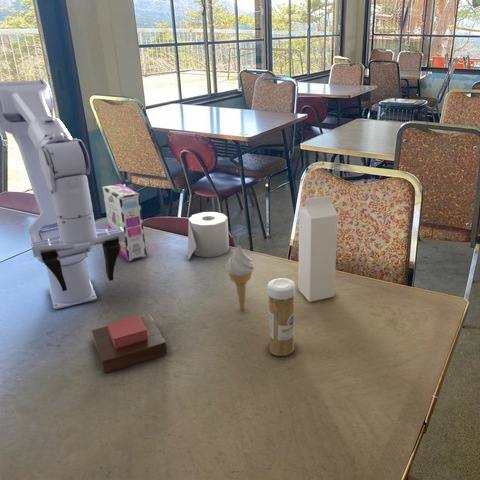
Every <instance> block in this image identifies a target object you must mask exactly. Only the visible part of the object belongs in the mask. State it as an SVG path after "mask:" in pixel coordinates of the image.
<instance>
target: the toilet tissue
mask: <svg viewBox="0 0 480 480" xmlns="http://www.w3.org/2000/svg"><path fill="white" fill-rule="evenodd" d="M228 217H229V216H227V215H226V214H224V213H223V212H216V211H202V212H198V213H195V214H192V215H191V216H190V217H189V218H188V226H187V227H188V229H187V230H188V231H187V259H188V261H189V260H190V259H191V257H192V255H194V256H198V257H202V258H213V257H214V258H215V257H219V256H222V255H224V254H227V252H228V251H229V249H230V238H229V237H230V236H229V220H228V219H229V218H228Z"/></svg>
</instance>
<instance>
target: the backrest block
mask: <svg viewBox="0 0 480 480" xmlns="http://www.w3.org/2000/svg"><path fill="white" fill-rule="evenodd" d="M140 318H141V320H142V322H143V324H144V326H145V328H146V329H147V336H148V339H147V340H144V341H140V342H137V343H134V344H130V345H127V346H123V347H120V348H116V349H115V347H114V344H113V342H112V339H111V337H110V334H109V331H108V325H105V326H103V327H98V328H96V329H95V328H94V329H91V333H92V339H93V343H94V346H95V349H96V353H97V355H98V358H99V361H100V364H101V367H102V369H103V373H104V374H107V373H111V372H114V371H118V370H120V369H124V368H127V367H130V366H133V365H136V364H141V363H143V362H146V361H150V360H153V359H155V358H158V357H162V356H165V355H167V354H168V349H167V343H166V340H165V338H164V336H163V335H162V333H161V331H160V329H159V328H158V326H157V325H156V323H155V321H154V319H153V318H152V316H151V314H148V315H144V316H140Z"/></svg>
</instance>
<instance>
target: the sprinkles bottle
mask: <svg viewBox="0 0 480 480" xmlns="http://www.w3.org/2000/svg"><path fill="white" fill-rule="evenodd" d="M295 294H296V285H295V282H294V280H293V279H292V280H291V279H290V278H285V277H278V278H274V279H272V280H270V281H269V282H268V283H267V296H268V328H269V329H268V331H269V334H268V335H269V352H270V353H271V354H273V355H274V356H278V357H286V356H289V355H291V354H292V353H293V352H294V351H295V342H294V341H295Z"/></svg>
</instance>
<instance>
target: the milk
mask: <svg viewBox="0 0 480 480" xmlns="http://www.w3.org/2000/svg"><path fill="white" fill-rule="evenodd" d="M332 198H333V196H332V195H323V196H317V197H308V198H305V200H304V206H302V207H301V208H299V209H298V275H297V276H298V279H297V280H298V281H297V282H298V285H297V287H298V291H299V292H300V293H301V294H302V295H303V296H304V298H305V299H306V300H307V301H308V302H309V303H311V302H317V301H321V300H324V299H329V298H333V297H335V289H336V266H337V246H338V245H337V244H338V241H337V240H338V222H339V221H338V220H339V214H338V212H337V210H336V208H335V206H334V204H333V201H332V200H333V199H332Z"/></svg>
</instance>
